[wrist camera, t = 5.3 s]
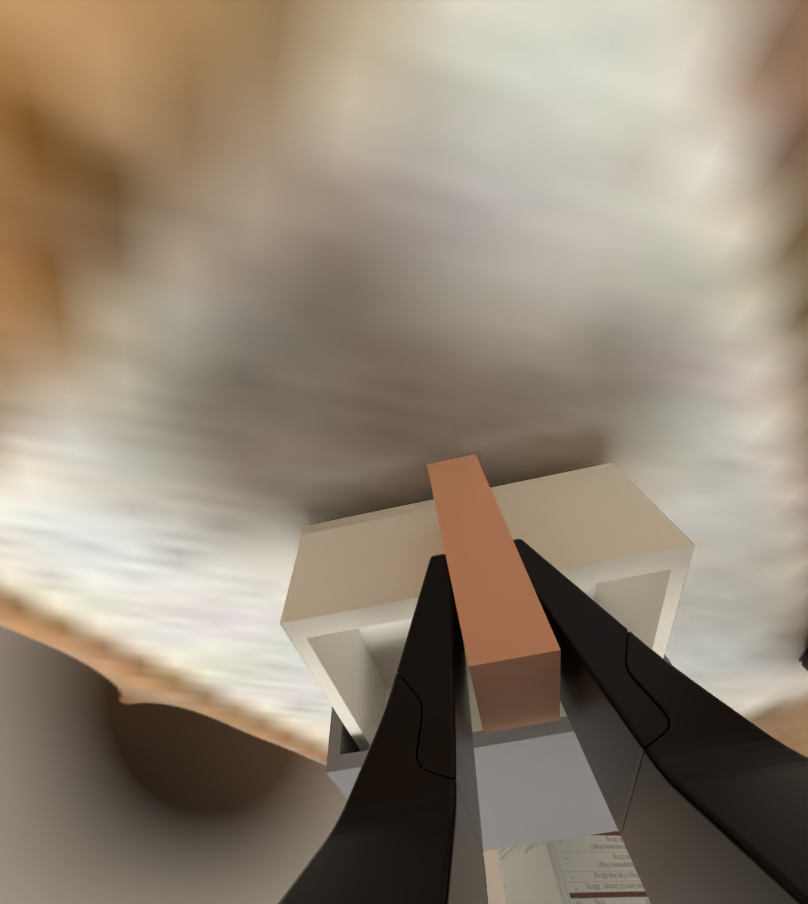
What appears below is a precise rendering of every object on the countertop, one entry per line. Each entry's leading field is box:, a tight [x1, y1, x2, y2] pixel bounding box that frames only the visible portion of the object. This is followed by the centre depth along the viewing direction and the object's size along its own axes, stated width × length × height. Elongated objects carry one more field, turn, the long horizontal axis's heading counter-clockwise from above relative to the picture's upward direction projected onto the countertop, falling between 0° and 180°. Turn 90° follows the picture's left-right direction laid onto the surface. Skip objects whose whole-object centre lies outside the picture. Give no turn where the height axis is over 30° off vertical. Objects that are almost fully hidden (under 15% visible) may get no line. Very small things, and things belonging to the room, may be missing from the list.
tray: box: [280, 454, 694, 751], centre depth 14 cm, size 12×15×8 cm
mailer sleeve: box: [326, 655, 672, 851], centre depth 20 cm, size 14×13×6 cm
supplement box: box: [497, 831, 651, 904], centre depth 24 cm, size 7×7×13 cm
